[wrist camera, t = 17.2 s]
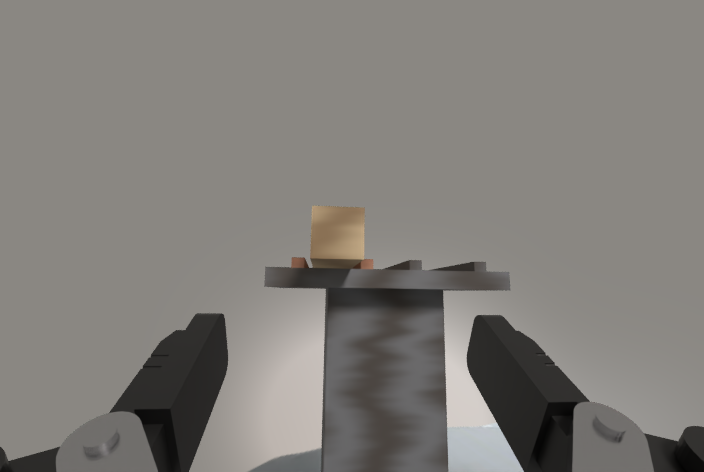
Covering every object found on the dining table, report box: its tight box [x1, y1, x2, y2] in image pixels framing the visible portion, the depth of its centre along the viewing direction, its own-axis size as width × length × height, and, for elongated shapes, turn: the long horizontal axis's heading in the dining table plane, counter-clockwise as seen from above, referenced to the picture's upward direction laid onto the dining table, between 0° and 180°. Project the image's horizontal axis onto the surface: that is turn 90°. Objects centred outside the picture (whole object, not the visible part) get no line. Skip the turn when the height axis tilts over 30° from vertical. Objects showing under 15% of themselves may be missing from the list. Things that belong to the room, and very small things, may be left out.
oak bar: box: [310, 206, 365, 269], centre depth 30 cm, size 3×22×3 cm, turn 5°
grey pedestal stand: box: [265, 257, 510, 472], centre depth 31 cm, size 20×14×33 cm
